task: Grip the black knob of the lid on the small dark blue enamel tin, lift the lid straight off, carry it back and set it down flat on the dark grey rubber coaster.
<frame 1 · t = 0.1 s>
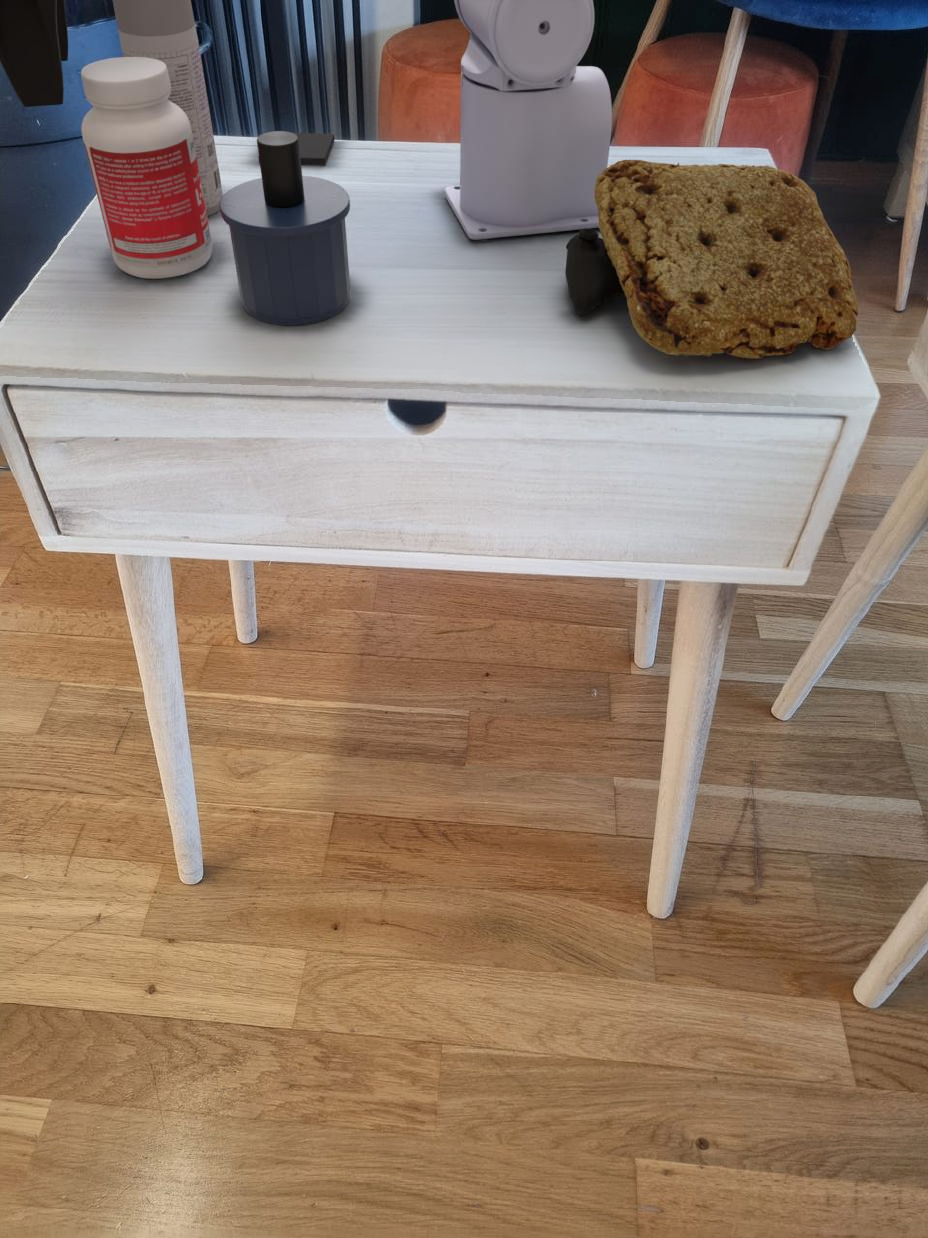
hand: (47, 80, 56), 10 cm above the table, tool pointing down, fingers open, 7 cm apart
gaming controller: (629, 291, 60), on the table, touching pastry
container: (190, 208, 69), on the table
lid: (285, 208, 55), point 5 cm above the table, touching tin
pill bottle: (165, 262, 63), on the table
coaster: (297, 151, 76), on the table
tin: (296, 298, 59), on the table
pastry: (713, 268, 58), point 2 cm above the table, touching gaming controller
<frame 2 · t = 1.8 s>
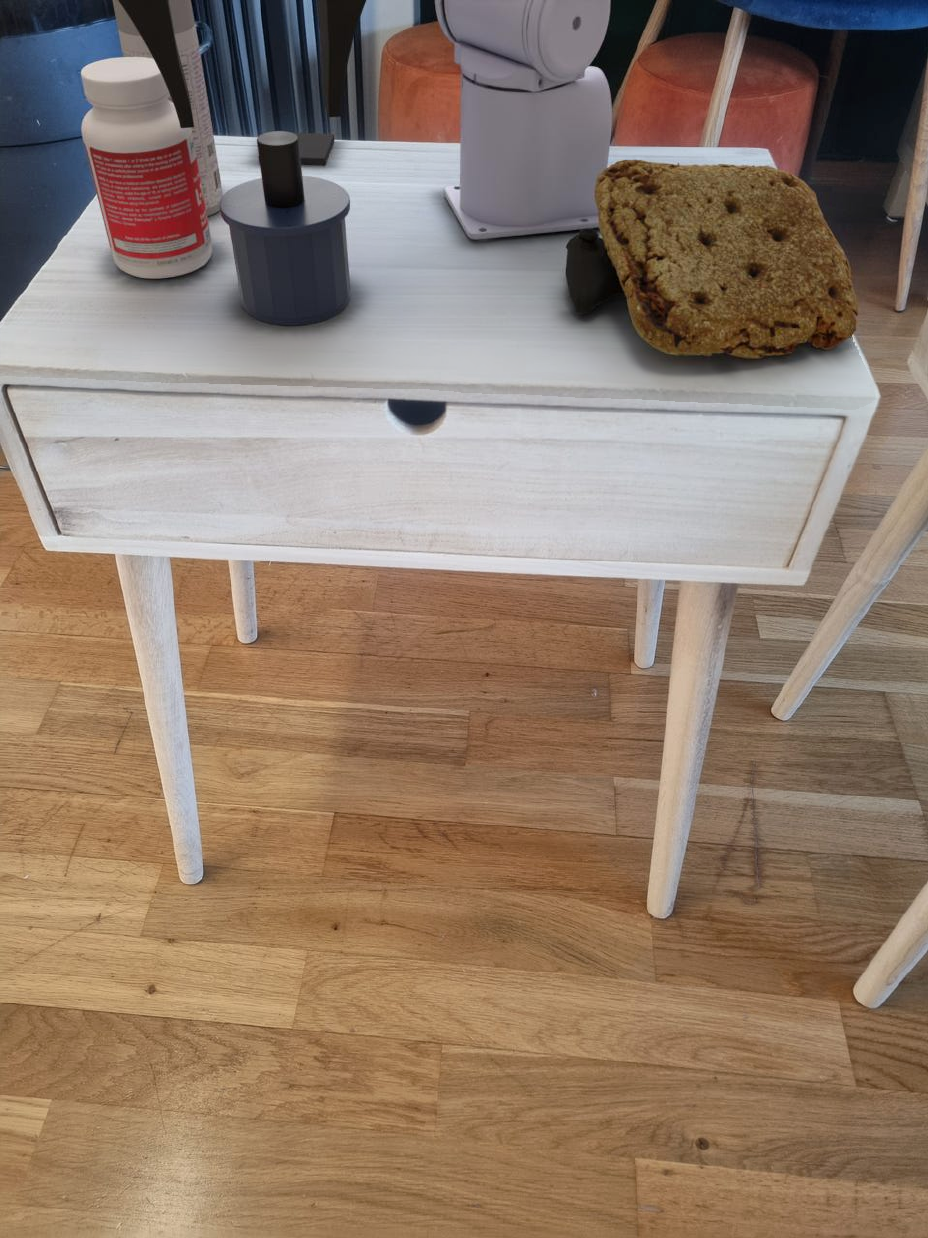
hand: (260, 115, 52), 10 cm above the table, tool pointing down, fingers open, 7 cm apart
nothing on the table moved.
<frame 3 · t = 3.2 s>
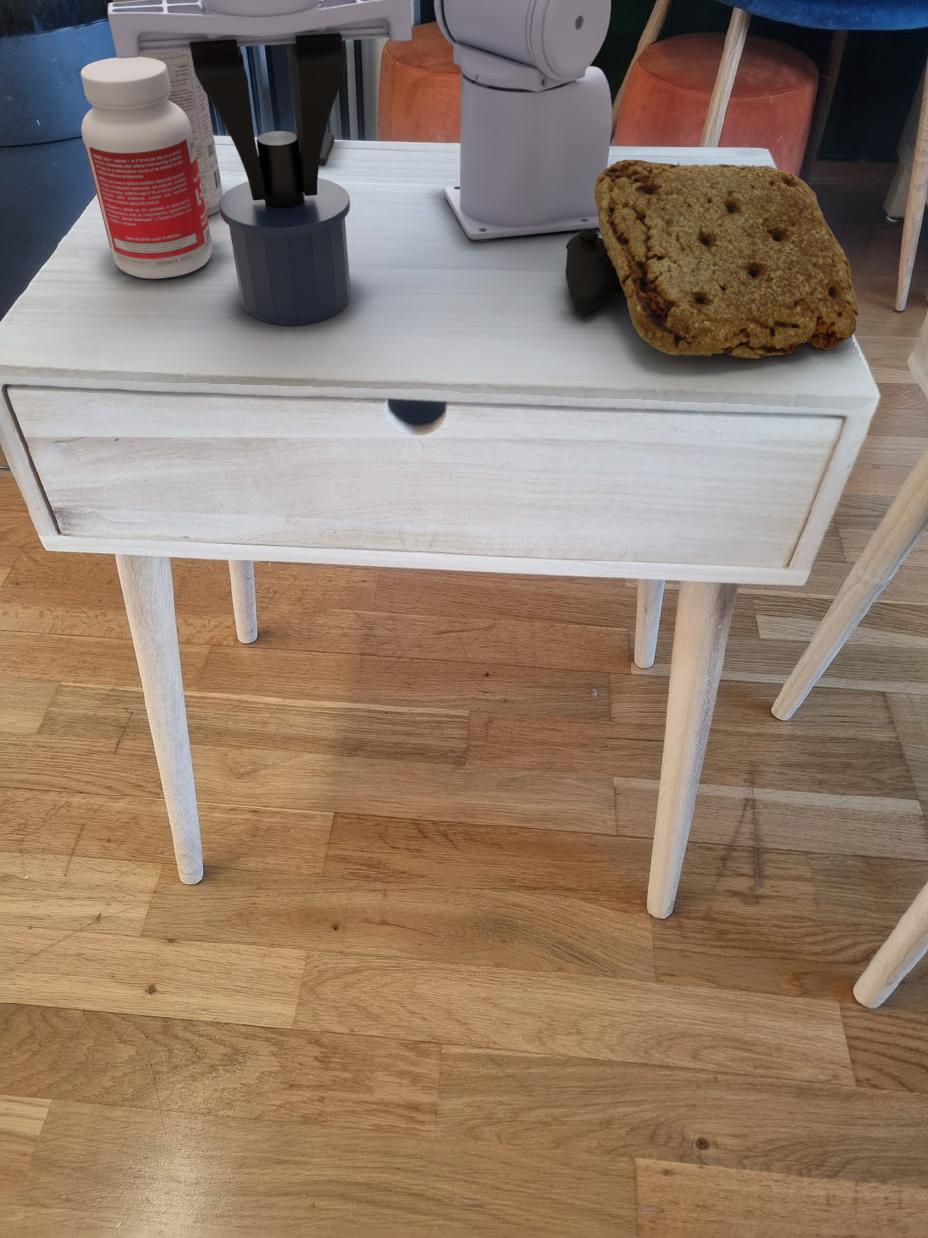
hand: (283, 190, 55), 6 cm above the table, tool pointing down, fingers closed on lid, 2 cm apart
lid: (285, 208, 55), point 5 cm above the table, touching gripper, tin
everything else where it was.
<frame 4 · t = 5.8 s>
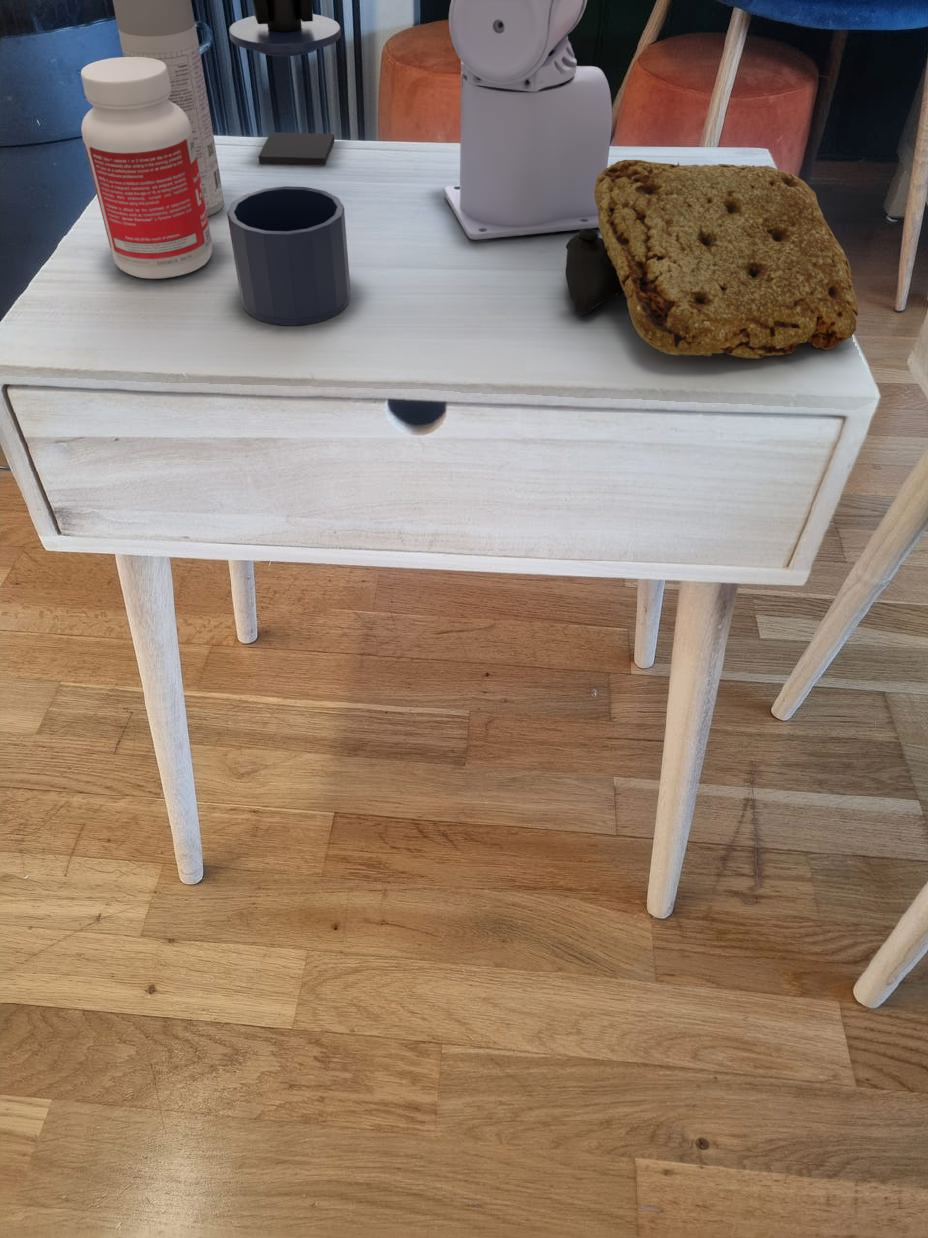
hand: (284, 18, 64), 10 cm above the table, tool pointing down, fingers closed on lid, 2 cm apart
lid: (285, 35, 65), point 9 cm above the table, touching gripper
everything else where it was.
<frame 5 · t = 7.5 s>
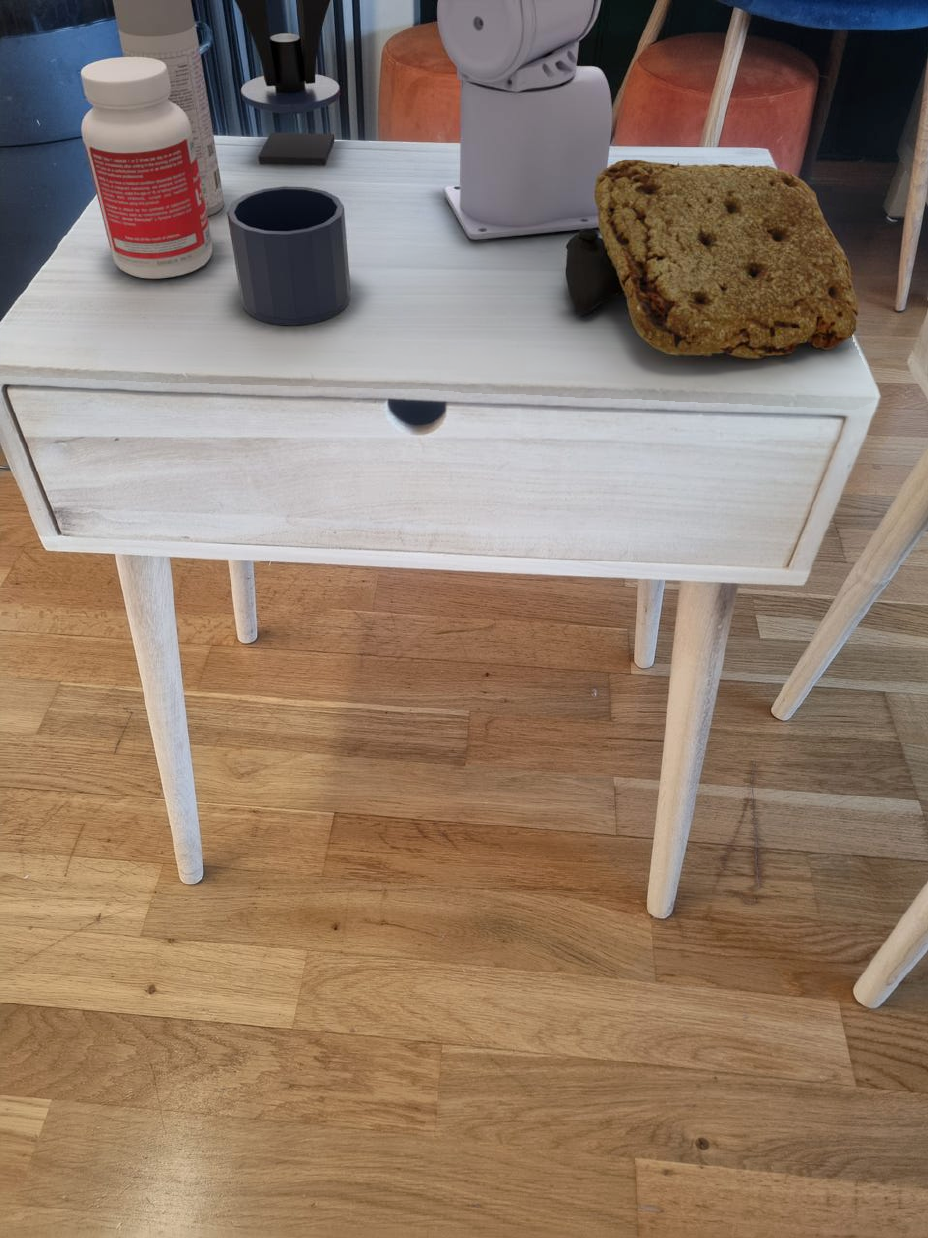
hand: (289, 80, 72), 5 cm above the table, tool pointing down, fingers closed on lid, 2 cm apart
lid: (291, 95, 73), point 4 cm above the table, touching gripper
everything else where it was.
when the fingers open (2 cm above the table, at t = 8.5 s): lid stays where it is, resting on coaster.
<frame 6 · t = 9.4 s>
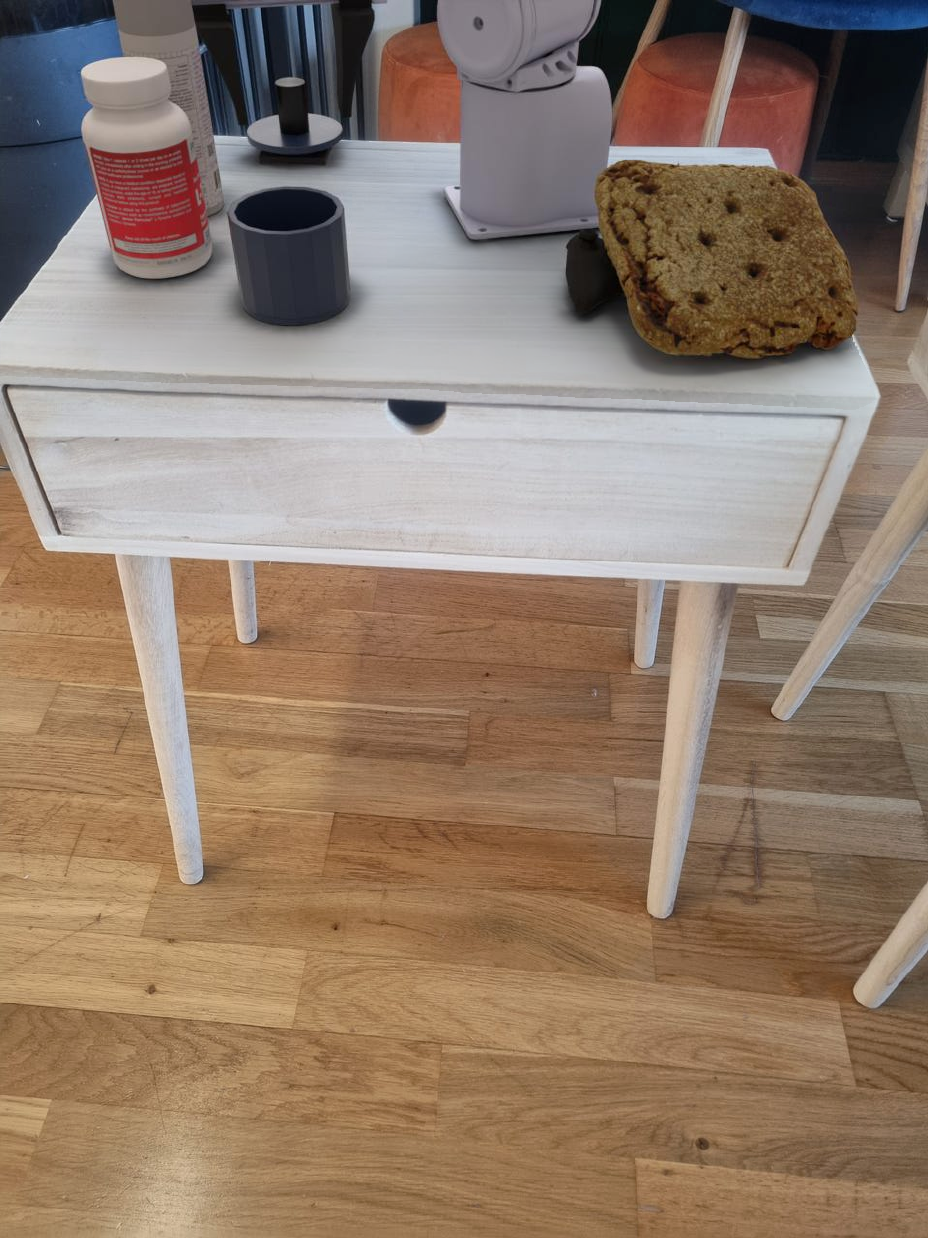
hand: (294, 116, 74), 2 cm above the table, tool pointing down, fingers open, 7 cm apart
lid: (295, 136, 75), point 1 cm above the table, touching coaster
everything else where it was.
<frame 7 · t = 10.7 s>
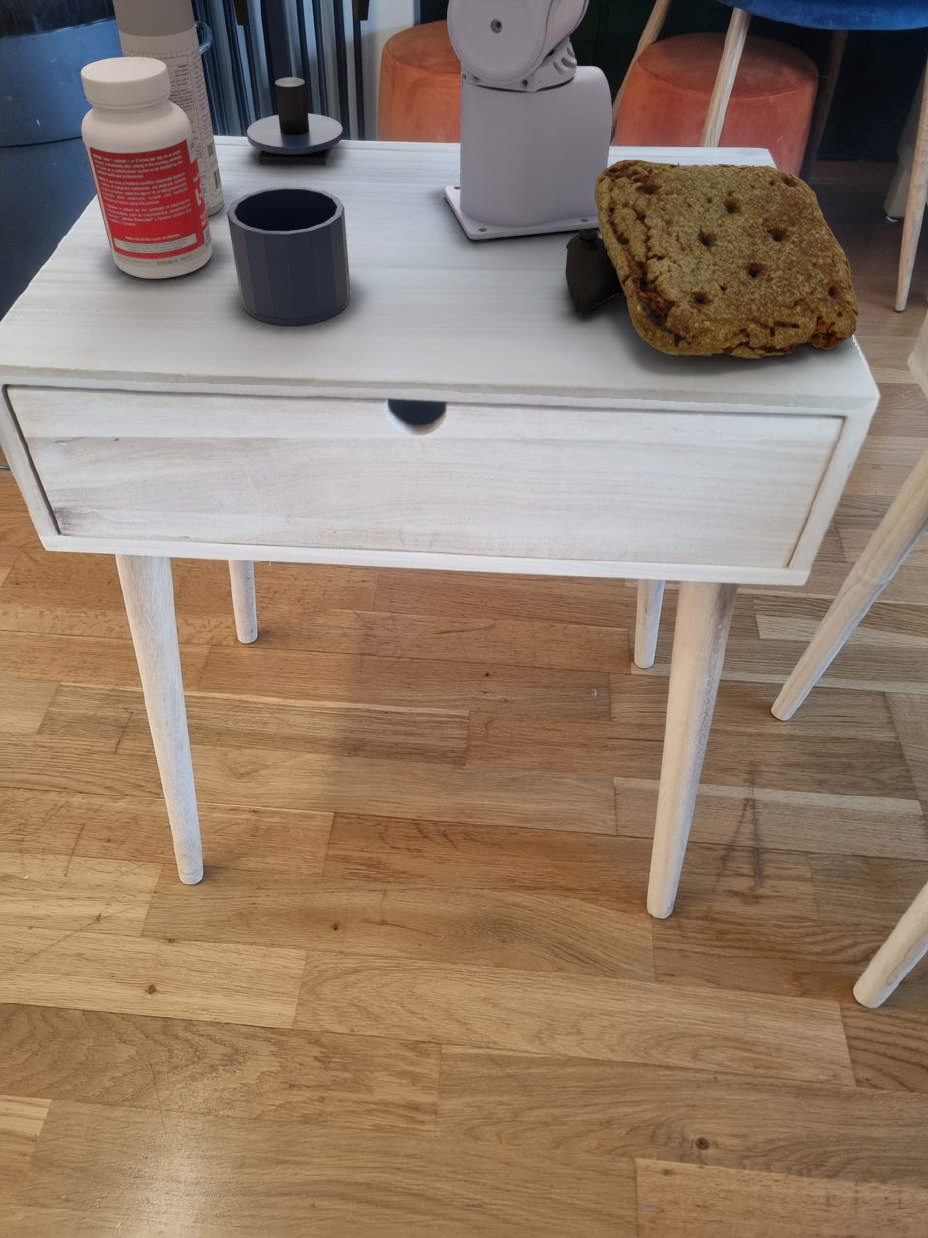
hand: (301, 18, 64), 10 cm above the table, tool pointing down, fingers open, 7 cm apart
nothing on the table moved.
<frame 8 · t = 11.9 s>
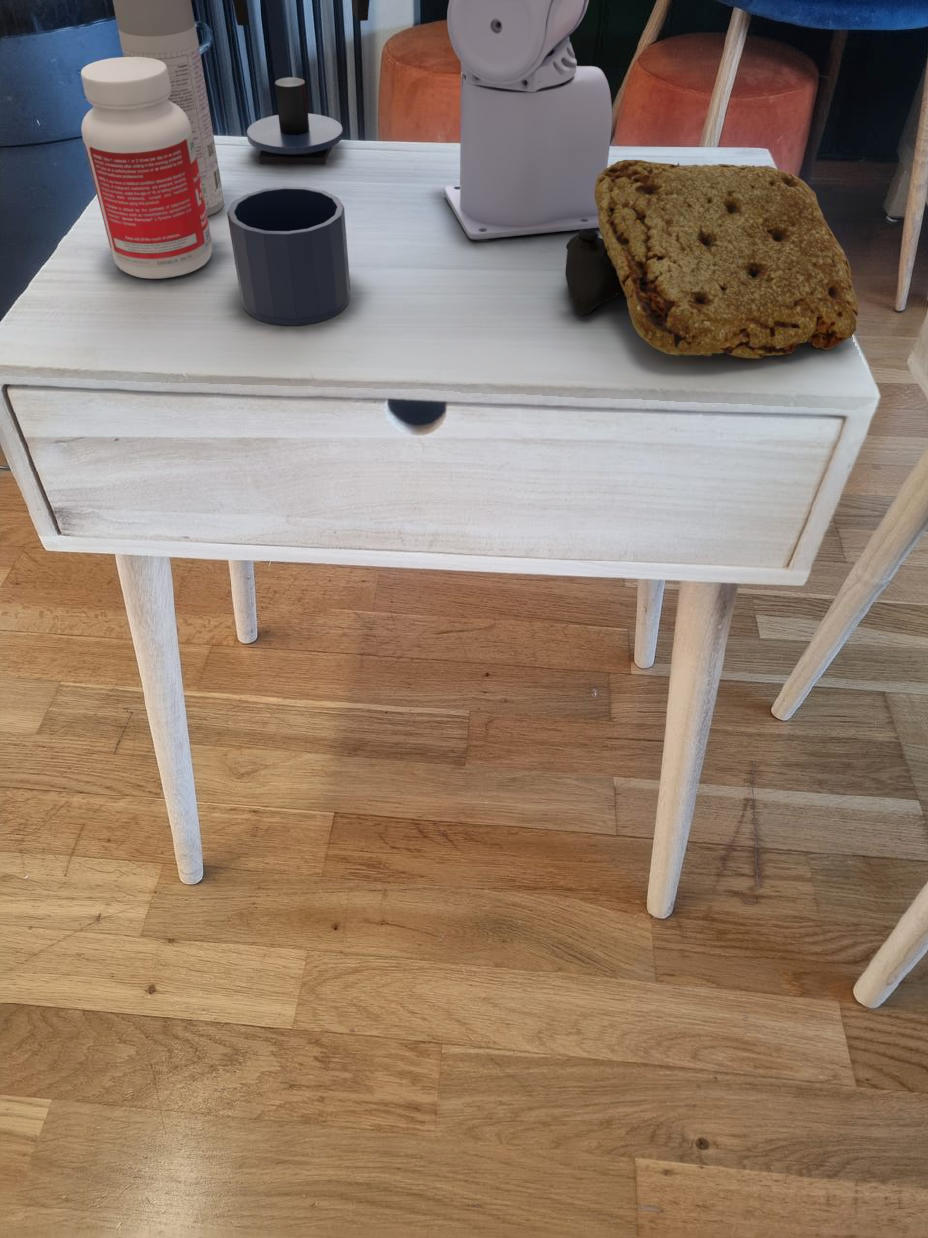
hand: (301, 18, 64), 10 cm above the table, tool pointing down, fingers open, 7 cm apart
nothing on the table moved.
at the end: lid 0.0 cm off-centre on the coaster, point 1.1 cm above the coaster's base; lid tilted 0°; the gripper is holding nothing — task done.
